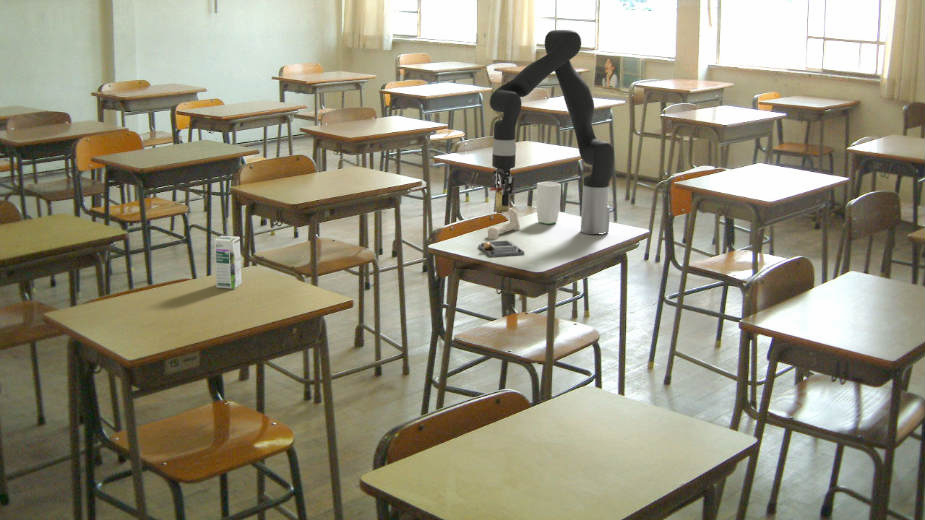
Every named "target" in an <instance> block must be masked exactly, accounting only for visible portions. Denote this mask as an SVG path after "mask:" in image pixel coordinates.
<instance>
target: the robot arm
mask: <svg viewBox="0 0 925 520" xmlns="http://www.w3.org/2000/svg"><path fill="white" fill-rule="evenodd" d="M544 38H545V39H544V49H545V53H546V55H544V56H542V57H540V58H539V59H537V60H535V61H534V62H531V63H530V64H528V65H527V66H525V67H524V68H523V69H522V70H520V71H519V73H518V74H517V75H515V77H514V78H513V79H511V80H509V81H508V82H505V83H504V84H502V85H501V86H499V87H498V88H496V89H495V90H494V91H493V93H492V94H491V95H490V98H489V105H490V108H491V109H492V110H493V111H494V112H496V113H502V114H503V116H502V119H499V120H495V122H494V125H493V141H492V159H491V160H492V161H491V162H492V165H491V166H492V167H493V168H494V169H495V170H492V171H493V172H492V174H493V186H494V187H493V188H502V206H508V205H509V206H510V195H512V194H513V188H514V182H515V177H513V176H512V174H511V169H515V167H516V151H517V149H516V148H517V146H516V145H517V144H516V127H517V123H518V120H519V117H520V113H521V110H522V99H521V98H524V97H527V96H528V95H530V94H531V92H532V91H534V89H536V87H537V86H539V84H540V83H542V81H544V80H545V79H546V78H547V77H549V75H551V74H553V72H554V73H555V76H556V78H557V81H558V83H559V86H560V89H561V92H562V96H563V99H564V102H565V105H566V108H567V111H568V114H569V116H570V119H571V123H572V126H573V130H574V133H575V136H576V141H577V148H578V152H579V156H580V158H581V160H582V161H583V163H585V164H587V165H589V166H592V168H591V169H592V170H591V173H590V174H588V175H585V176H584V177H583V179H582V180H583V182H582V201H581V202H582V203H581V216H580V218H581V219H580V232H581V234H582V233H583V234H586V235H590V234H599V233H604V232H610V231H609V229H610V213H611V207H610V206H609V194H610V193H609V192H610V181H611V180H612V176H613V171H614V170H613V169H614V162H615V161H614V160H615V151H614V147H613V145H612V144H611V143H610V142H608V141H603V140H600V139H597V137H596V135H595V131H594V128H593V118H594V117H593V116H594V113H595V112H594V111H595V102H594V98H593V95H592V92H591V90H590V87H589V85H588V84H587V83H586V80H585V79H583V78H582V77H581V75H580V74H579V73H578V71H576V69H575V68H574V66H573V64H572V63H571V59H573V58H575V57H576V56H577V55H578V54H579V52H580V50H581V49H582V48H581V47H582V38H581V35H580V34H579V33H578V32H577V31H574V30H571V29H554V30H550V31H548V32H547V34H546V35H545V37H544ZM495 191H496V192H499V190H495Z"/></svg>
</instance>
